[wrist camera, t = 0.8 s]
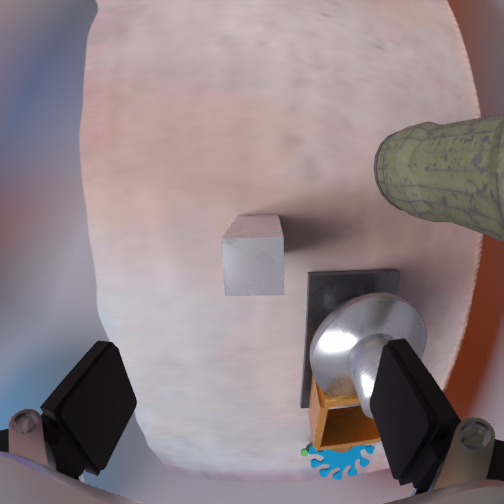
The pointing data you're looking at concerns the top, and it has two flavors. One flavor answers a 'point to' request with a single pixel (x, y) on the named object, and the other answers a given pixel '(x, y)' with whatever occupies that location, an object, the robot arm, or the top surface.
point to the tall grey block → (253, 256)
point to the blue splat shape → (338, 459)
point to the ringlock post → (351, 350)
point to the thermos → (447, 173)
